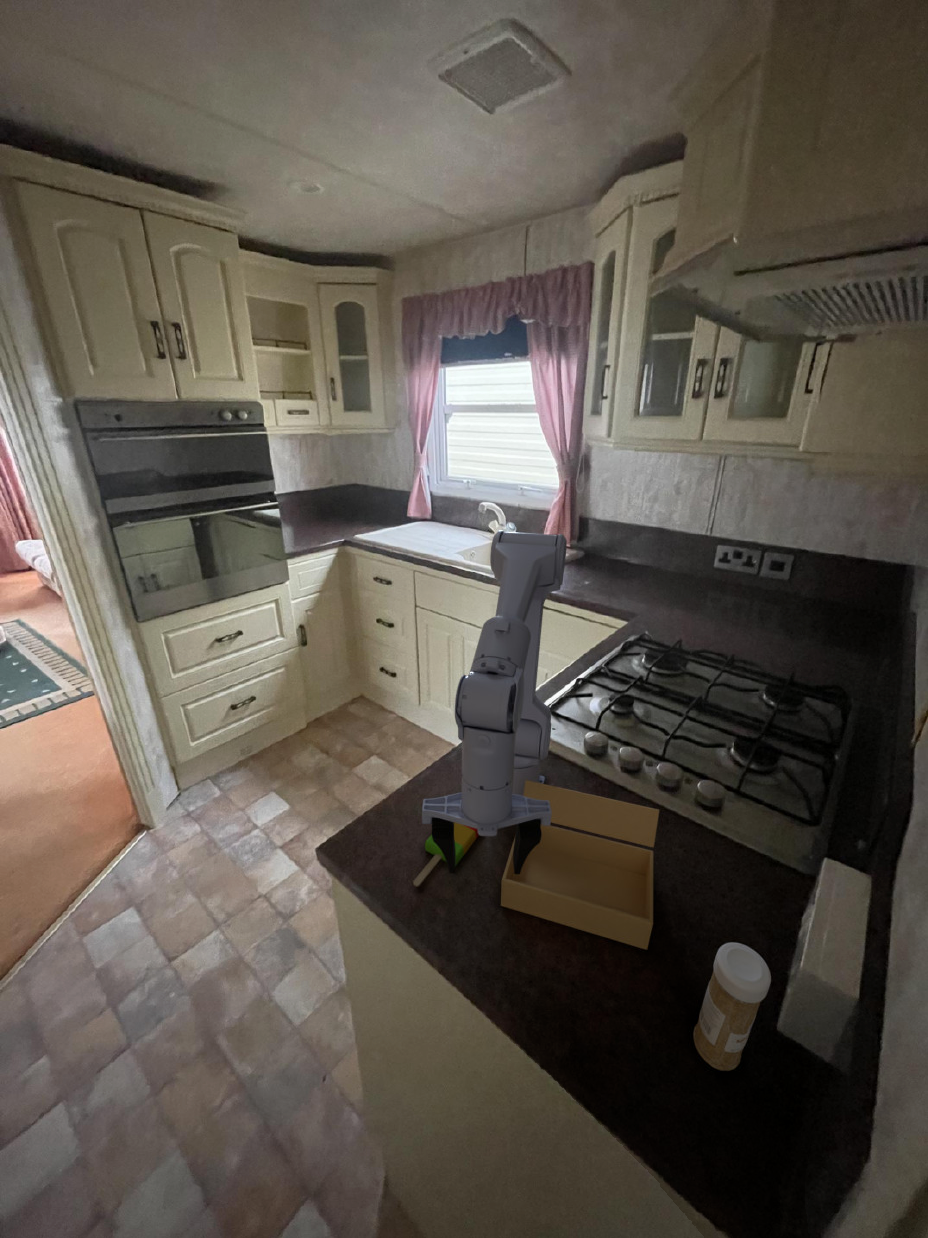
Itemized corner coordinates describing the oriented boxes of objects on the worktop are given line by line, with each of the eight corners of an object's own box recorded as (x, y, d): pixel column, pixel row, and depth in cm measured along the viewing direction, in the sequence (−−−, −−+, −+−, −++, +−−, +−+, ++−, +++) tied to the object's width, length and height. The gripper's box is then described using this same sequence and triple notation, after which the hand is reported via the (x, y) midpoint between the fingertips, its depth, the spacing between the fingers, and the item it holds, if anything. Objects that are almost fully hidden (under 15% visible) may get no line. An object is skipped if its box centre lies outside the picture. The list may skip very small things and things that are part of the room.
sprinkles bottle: (742, 1081, 50) (775, 999, 45) (692, 1061, 52) (718, 979, 46) (738, 1031, 54) (768, 950, 49) (691, 1013, 56) (715, 933, 50)
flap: (521, 815, 74) (521, 814, 75) (653, 847, 69) (653, 846, 69) (525, 780, 74) (525, 779, 74) (659, 810, 68) (659, 809, 69)
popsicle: (488, 825, 80) (488, 816, 79) (431, 899, 68) (431, 890, 68) (458, 810, 83) (458, 801, 82) (399, 880, 71) (398, 870, 70)
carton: (519, 842, 77) (520, 818, 75) (648, 876, 71) (653, 850, 69) (500, 905, 67) (501, 880, 65) (647, 950, 62) (653, 923, 60)
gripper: (418, 797, 53) (421, 894, 58) (559, 799, 53) (550, 896, 58) (424, 755, 59) (425, 846, 64) (549, 757, 59) (541, 848, 64)
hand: (484, 867), depth 61 cm, fingers open, 7 cm apart
